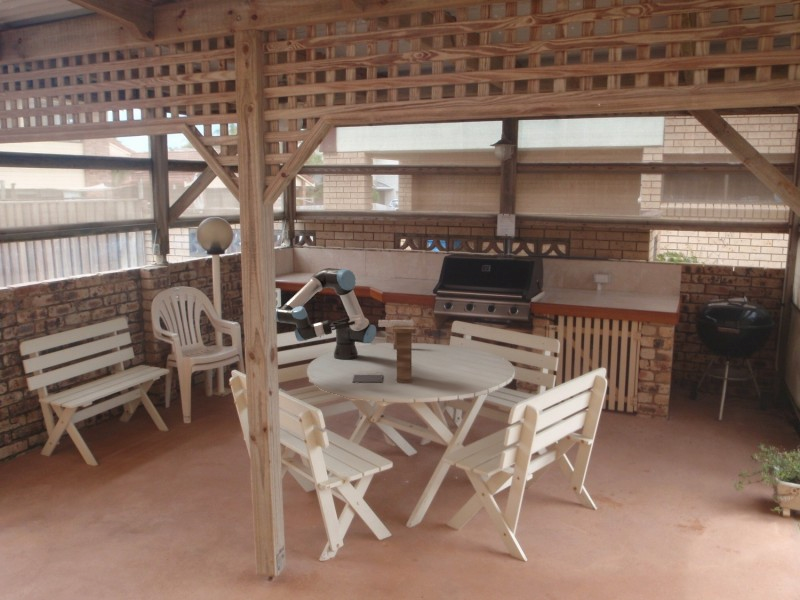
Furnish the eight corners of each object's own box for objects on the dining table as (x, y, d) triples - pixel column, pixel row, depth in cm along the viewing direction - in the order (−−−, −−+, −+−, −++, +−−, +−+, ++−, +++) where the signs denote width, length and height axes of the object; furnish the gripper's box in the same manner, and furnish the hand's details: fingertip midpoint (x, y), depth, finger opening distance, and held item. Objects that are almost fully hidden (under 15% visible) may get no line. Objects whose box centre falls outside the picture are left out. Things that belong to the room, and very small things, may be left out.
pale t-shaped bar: (378, 324, 379) (378, 319, 379) (413, 325, 379) (413, 319, 379) (378, 327, 373) (378, 321, 373) (413, 327, 373) (413, 321, 373)
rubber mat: (354, 375, 388) (354, 374, 388) (382, 375, 388) (382, 374, 388) (352, 382, 374) (352, 381, 374) (381, 382, 374) (381, 381, 374)
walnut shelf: (393, 375, 389) (393, 323, 384) (414, 375, 389) (415, 323, 384) (392, 383, 373) (392, 328, 368) (415, 383, 373) (415, 329, 368)
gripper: (326, 331, 390) (363, 321, 390) (323, 339, 365) (362, 329, 365) (323, 318, 389) (359, 308, 389) (319, 325, 364) (358, 315, 364)
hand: (361, 318), depth 377 cm, fingers open, 13 cm apart
